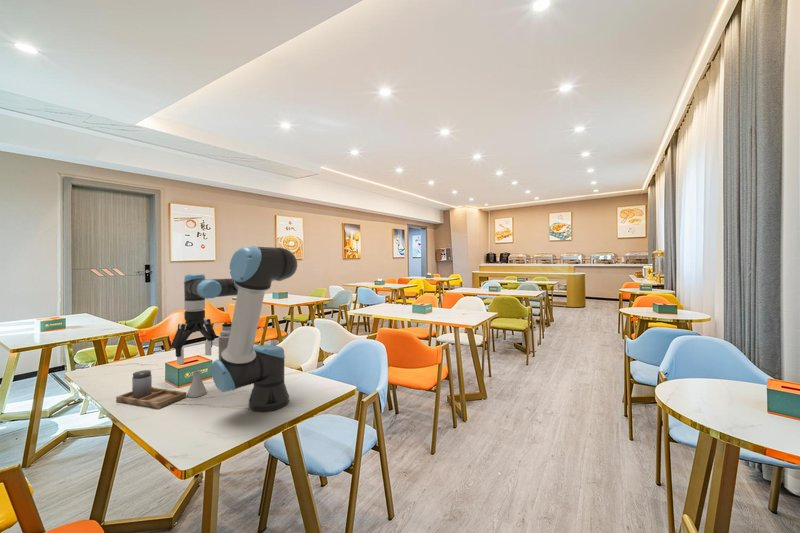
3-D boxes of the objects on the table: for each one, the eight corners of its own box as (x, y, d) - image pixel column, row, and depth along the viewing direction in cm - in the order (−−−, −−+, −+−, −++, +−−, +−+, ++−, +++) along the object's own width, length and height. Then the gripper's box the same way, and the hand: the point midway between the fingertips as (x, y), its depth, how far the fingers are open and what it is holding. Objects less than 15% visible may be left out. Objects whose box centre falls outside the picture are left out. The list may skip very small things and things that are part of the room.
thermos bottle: (225, 379, 162) (225, 322, 162) (241, 380, 162) (240, 322, 161) (215, 385, 155) (214, 325, 154) (231, 386, 154) (231, 325, 153)
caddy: (186, 397, 141) (186, 392, 141) (158, 409, 129) (158, 403, 129) (146, 391, 148) (146, 386, 148) (116, 402, 136) (116, 396, 136)
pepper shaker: (155, 394, 142) (155, 370, 142) (139, 400, 136) (139, 375, 136) (144, 392, 144) (144, 369, 144) (128, 398, 138) (128, 374, 138)
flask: (197, 399, 140) (197, 375, 139) (182, 397, 141) (182, 373, 141) (210, 392, 147) (210, 369, 146) (196, 391, 148) (196, 368, 148)
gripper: (212, 305, 156) (212, 351, 156) (159, 313, 132) (159, 367, 132) (225, 306, 154) (225, 352, 154) (174, 314, 130) (174, 369, 130)
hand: (195, 359), depth 143 cm, fingers open, 13 cm apart
